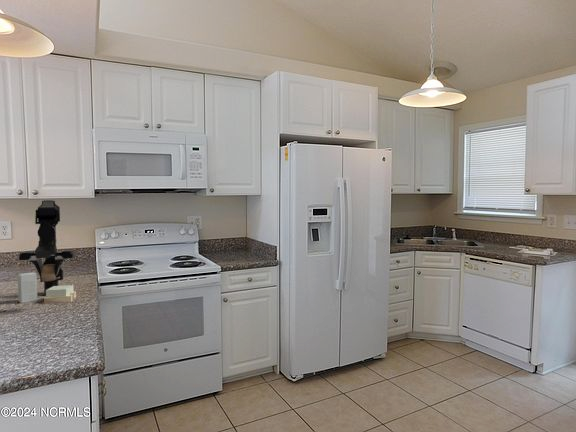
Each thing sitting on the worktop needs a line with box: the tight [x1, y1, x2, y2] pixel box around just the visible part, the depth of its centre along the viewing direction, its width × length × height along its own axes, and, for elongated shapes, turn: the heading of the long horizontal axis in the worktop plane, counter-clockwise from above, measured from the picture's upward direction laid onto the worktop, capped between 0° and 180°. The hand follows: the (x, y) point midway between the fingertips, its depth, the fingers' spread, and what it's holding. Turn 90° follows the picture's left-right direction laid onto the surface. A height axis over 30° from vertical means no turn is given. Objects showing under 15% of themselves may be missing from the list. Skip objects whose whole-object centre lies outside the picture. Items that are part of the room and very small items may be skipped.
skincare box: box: [17, 271, 38, 304], centre depth 165 cm, size 6×4×12 cm
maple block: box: [43, 290, 77, 305], centre depth 167 cm, size 10×10×3 cm
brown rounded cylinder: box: [41, 264, 56, 281], centre depth 154 cm, size 5×5×6 cm
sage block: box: [45, 284, 75, 297], centre depth 167 cm, size 8×8×3 cm
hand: (48, 276), depth 154 cm, fingers closed on brown rounded cylinder, 5 cm apart
